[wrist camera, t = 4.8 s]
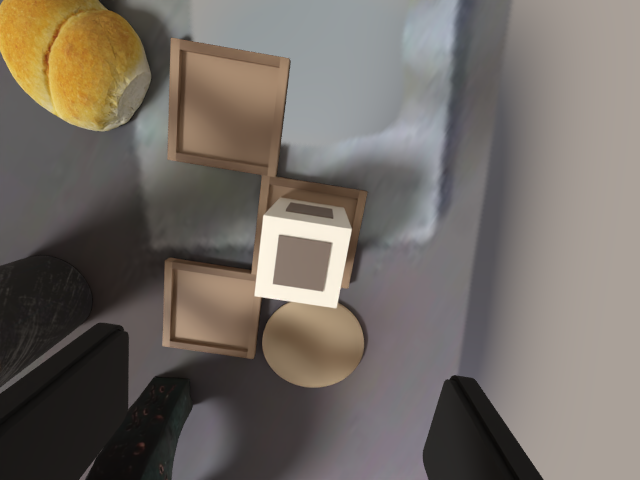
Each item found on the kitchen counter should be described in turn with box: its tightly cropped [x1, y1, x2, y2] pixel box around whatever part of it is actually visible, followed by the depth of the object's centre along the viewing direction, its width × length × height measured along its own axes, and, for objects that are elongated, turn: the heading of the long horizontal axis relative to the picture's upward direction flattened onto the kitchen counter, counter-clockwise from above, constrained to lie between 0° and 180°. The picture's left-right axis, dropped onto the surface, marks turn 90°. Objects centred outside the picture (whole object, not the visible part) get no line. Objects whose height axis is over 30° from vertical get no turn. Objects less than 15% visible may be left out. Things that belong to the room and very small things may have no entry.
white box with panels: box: [254, 197, 352, 308], centre depth 22 cm, size 5×5×7 cm
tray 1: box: [168, 38, 290, 177], centre depth 23 cm, size 8×8×1 cm
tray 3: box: [251, 175, 367, 289], centre depth 25 cm, size 8×8×1 cm
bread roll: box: [0, 0, 151, 131], centre depth 21 cm, size 8×9×4 cm
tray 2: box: [163, 258, 262, 359], centre depth 27 cm, size 8×8×1 cm
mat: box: [262, 302, 364, 388], centre depth 28 cm, size 9×9×1 cm
